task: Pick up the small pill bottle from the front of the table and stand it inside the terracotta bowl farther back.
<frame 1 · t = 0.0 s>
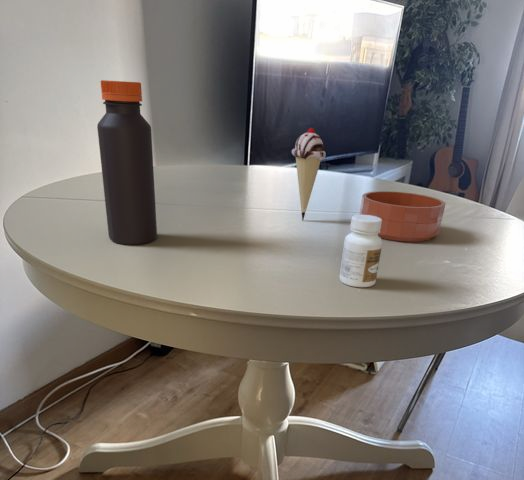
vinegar: (133, 240, 70), on the table
pill bottle: (356, 283, 58), on the table
ice cream cone: (302, 221, 85), on the table
bowl: (397, 232, 81), on the table
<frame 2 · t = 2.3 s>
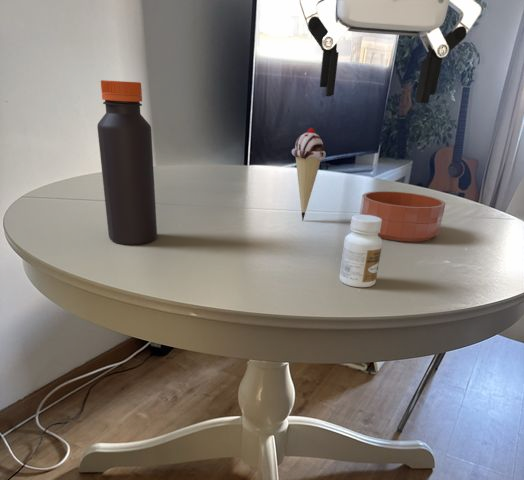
hand: (374, 99, 50), 20 cm above the table, tool pointing down, fingers open, 9 cm apart
nothing on the table moved.
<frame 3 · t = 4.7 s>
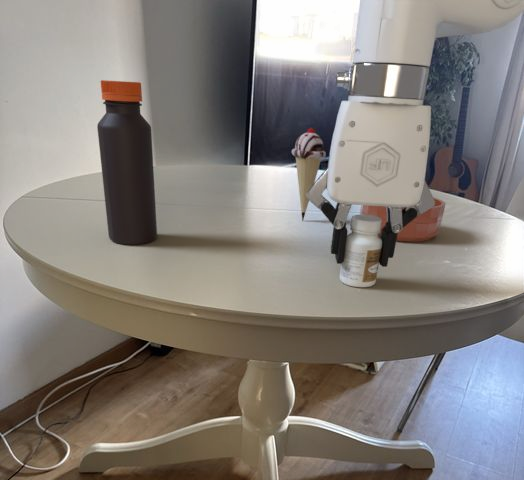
hand: (360, 260, 57), 3 cm above the table, tool pointing down, fingers closed on pill bottle, 4 cm apart
pill bottle: (356, 283, 58), on the table, touching gripper
everything else where it was.
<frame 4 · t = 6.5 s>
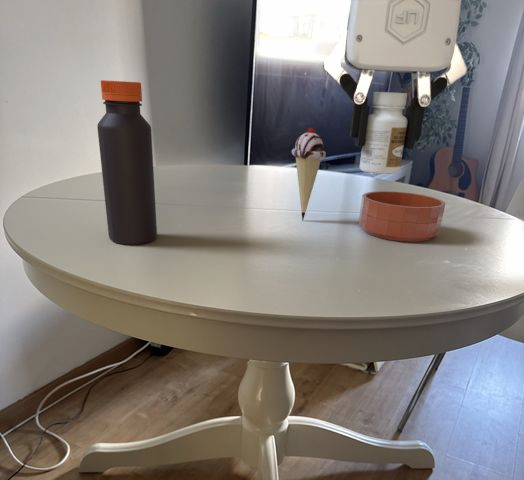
hand: (383, 144, 52), 15 cm above the table, tool pointing down, fingers closed on pill bottle, 4 cm apart
pill bottle: (378, 173, 53), point 12 cm above the table, touching gripper
everything else where it was.
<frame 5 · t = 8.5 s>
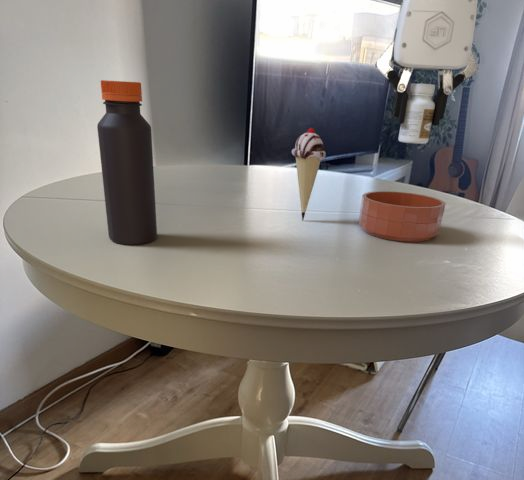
hand: (416, 122, 71), 17 cm above the table, tool pointing down, fingers closed on pill bottle, 4 cm apart
pill bottle: (412, 143, 72), point 14 cm above the table, touching gripper
everything else where it was.
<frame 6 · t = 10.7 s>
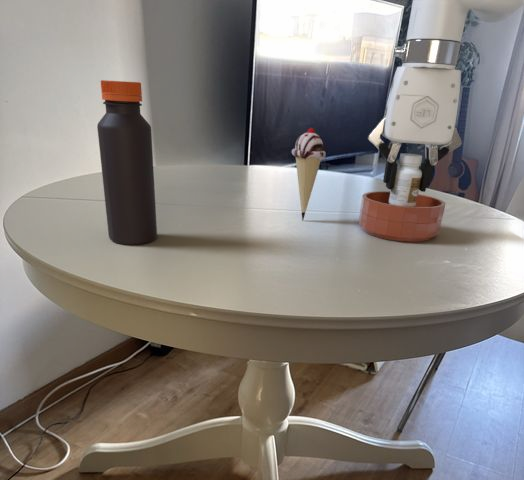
hand: (405, 187, 78), 7 cm above the table, tool pointing down, fingers closed on pill bottle, 4 cm apart
pill bottle: (401, 206, 79), point 4 cm above the table, touching gripper
everything else where it was.
when the fingers open (4 cm above the table, at t = 12.2 s): pill bottle stays where it is, resting on bowl.
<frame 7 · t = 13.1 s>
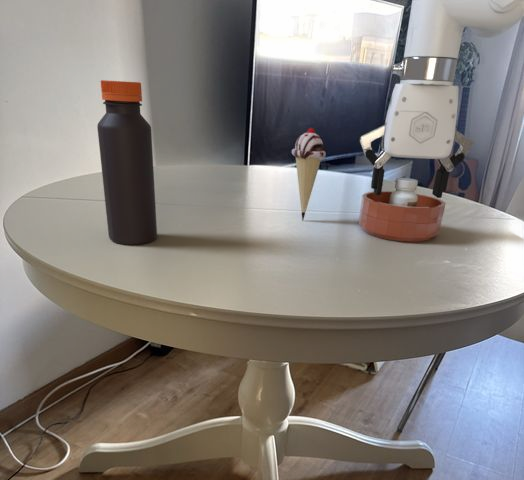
hand: (406, 195, 78), 6 cm above the table, tool pointing down, fingers open, 9 cm apart
pill bottle: (398, 228, 81), point 1 cm above the table, touching bowl
everything else where it was.
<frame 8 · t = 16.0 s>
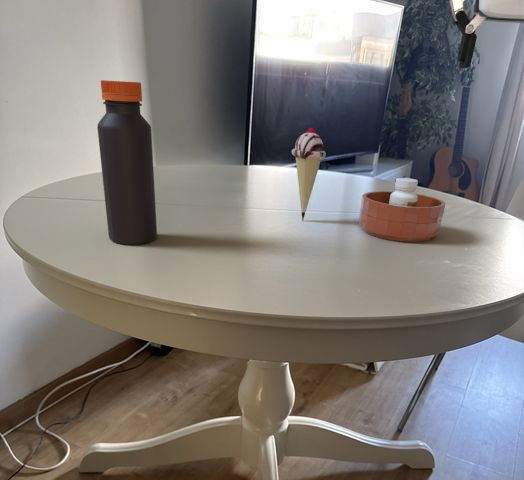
hand: (497, 69, 69), 24 cm above the table, tool pointing down, fingers open, 9 cm apart
nothing on the table moved.
at the end: pill bottle inside the target area in the bowl (0.0 cm from its centre), point 0.6 cm above the bowl's base; pill bottle tilted 0° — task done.
